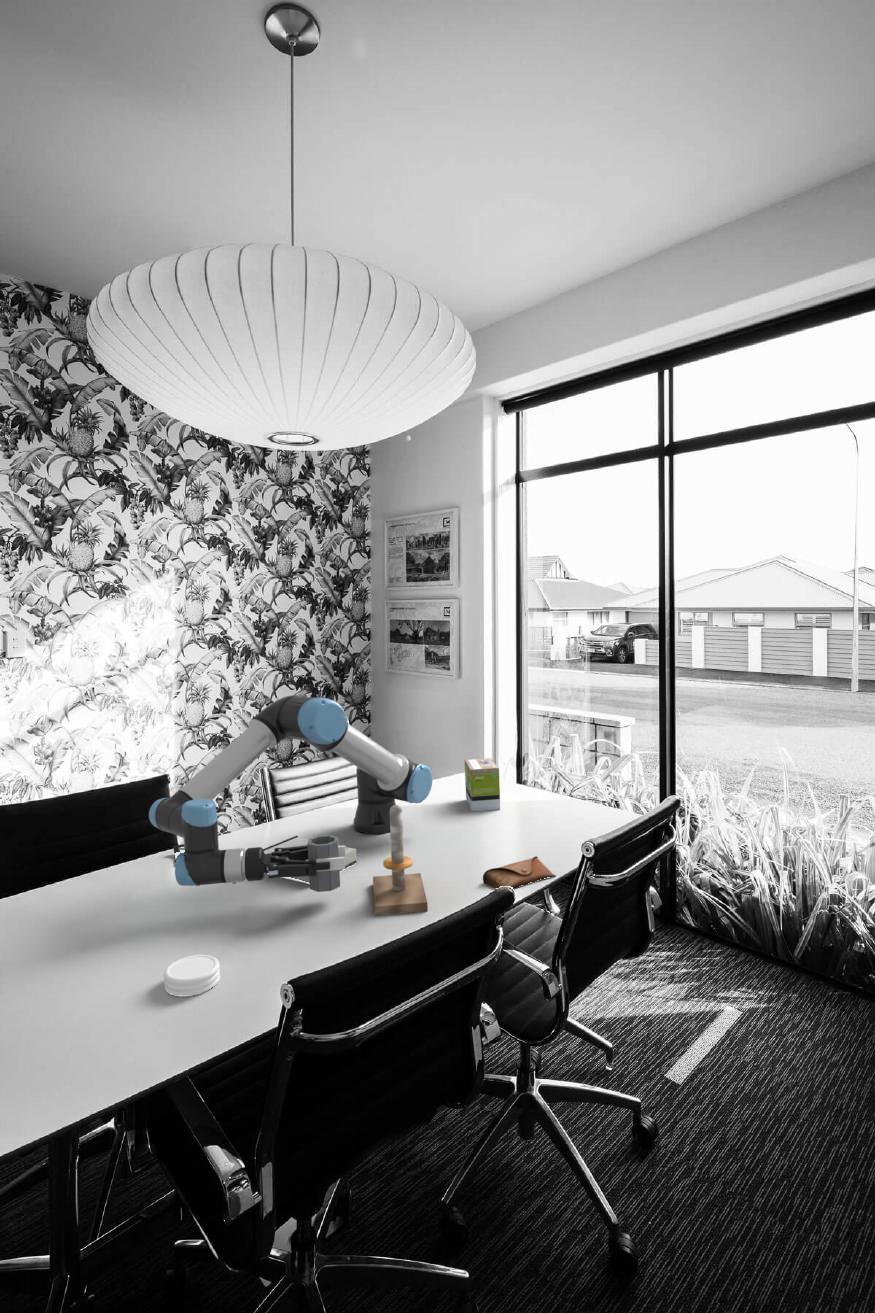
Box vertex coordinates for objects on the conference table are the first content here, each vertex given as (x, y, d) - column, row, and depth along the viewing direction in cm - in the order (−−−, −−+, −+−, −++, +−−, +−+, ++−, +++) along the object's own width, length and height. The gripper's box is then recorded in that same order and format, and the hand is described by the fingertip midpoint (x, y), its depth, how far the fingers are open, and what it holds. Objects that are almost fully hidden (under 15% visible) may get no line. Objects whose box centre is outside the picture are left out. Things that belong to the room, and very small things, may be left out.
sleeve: (309, 892, 166) (306, 846, 165) (311, 881, 173) (308, 836, 172) (339, 890, 167) (337, 844, 166) (340, 878, 174) (338, 834, 173)
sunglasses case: (504, 893, 172) (494, 866, 175) (488, 900, 178) (479, 873, 180) (558, 875, 182) (549, 850, 185) (542, 882, 188) (533, 857, 190)
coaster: (181, 1005, 129) (180, 986, 128) (154, 986, 135) (153, 968, 135) (230, 982, 136) (229, 964, 136) (202, 965, 143) (201, 948, 142)
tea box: (465, 799, 255) (463, 758, 254) (492, 798, 256) (491, 757, 255) (471, 812, 240) (470, 768, 239) (501, 810, 241) (500, 766, 240)
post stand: (375, 915, 163) (371, 818, 161) (373, 884, 181) (369, 796, 179) (427, 911, 164) (424, 814, 162) (420, 880, 182) (417, 793, 180)
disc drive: (296, 852, 208) (296, 835, 207) (357, 865, 195) (356, 847, 195) (250, 872, 193) (249, 854, 192) (313, 888, 181) (312, 869, 180)
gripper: (252, 864, 177) (346, 857, 180) (240, 898, 158) (345, 889, 160) (251, 835, 177) (344, 828, 179) (238, 864, 157) (343, 856, 159)
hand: (344, 857), depth 170 cm, fingers closed on sleeve, 7 cm apart
